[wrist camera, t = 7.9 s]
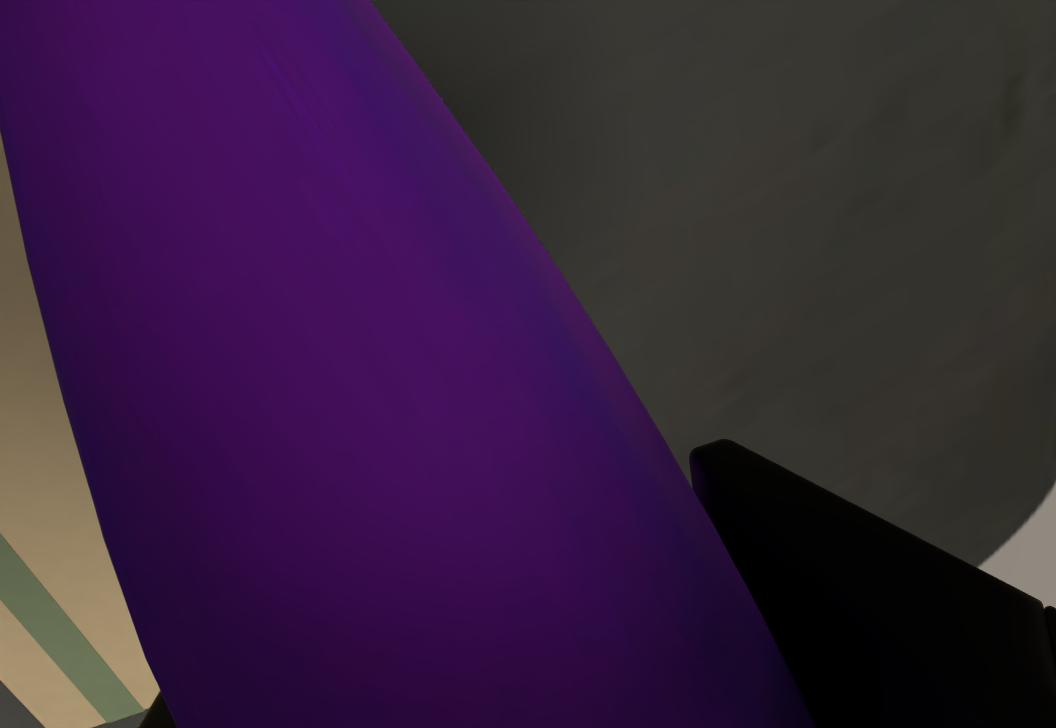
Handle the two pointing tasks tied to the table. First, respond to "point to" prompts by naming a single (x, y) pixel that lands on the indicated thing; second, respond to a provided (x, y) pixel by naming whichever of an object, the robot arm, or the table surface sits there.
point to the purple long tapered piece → (349, 393)
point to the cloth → (53, 532)
